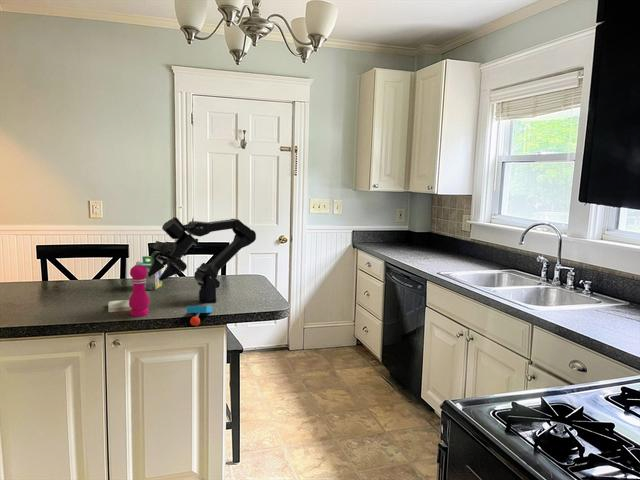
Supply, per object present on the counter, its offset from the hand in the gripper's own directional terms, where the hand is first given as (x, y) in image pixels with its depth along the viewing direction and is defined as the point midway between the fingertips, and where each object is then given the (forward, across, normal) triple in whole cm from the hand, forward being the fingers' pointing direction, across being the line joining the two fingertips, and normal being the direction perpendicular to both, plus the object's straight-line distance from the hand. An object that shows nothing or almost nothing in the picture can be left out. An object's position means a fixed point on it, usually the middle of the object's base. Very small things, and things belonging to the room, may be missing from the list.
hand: (154, 278), depth 176 cm
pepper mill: (+13, 0, +5) cm, 14 cm away
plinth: (+14, -12, +4) cm, 19 cm away
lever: (+4, +18, +15) cm, 24 cm away
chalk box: (-1, -36, +20) cm, 41 cm away
